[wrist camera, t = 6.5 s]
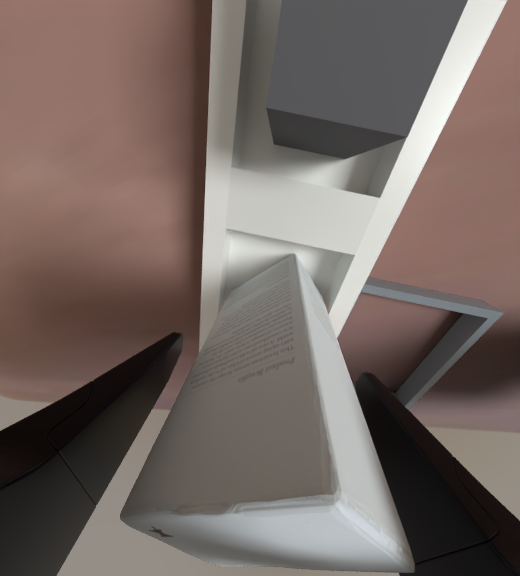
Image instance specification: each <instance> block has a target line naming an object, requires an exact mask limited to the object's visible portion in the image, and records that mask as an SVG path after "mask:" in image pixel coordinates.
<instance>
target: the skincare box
mask: <svg viewBox="0 0 520 576" xmlns="http://www.w3.org/2000/svg"><path fill="white" fill-rule="evenodd" d="M120 519H121V520H122V521H123V522H124V523H125V524H127V525H128V526H130V527H132V528H134V529H136V530H138V531H140V532H143V533H145V534H147V535H149V536H152V537H154V538H156V539H158V540H160V541H162V542H164V543H167V544H168V545H171V546H173V547H175V548H177V549H179V550H181V551H183V552H185V553H188V554H190V555H192V556H194V557H196V558H198V559H201V560H203V561H205V562H208V563H211V564H214V565H217V566H226V567H229V566H230V567H284V568H285V567H286V568H295V569H309V570H310V569H311V570H331V571H360V572H393V573H394V572H395V573H413V572H414V571H415V563H414V560H413V556H412V553H411V549H410V546H409V544H408V541H407V538H406V535H405V532H404V529H403V526H402V524H401V521H400V518H399V515H398V512H397V509H396V507H395V504H394V501H393V498H392V495H391V492H390V489H389V486H388V484H387V481H386V478H385V475H384V472H383V469H382V467H381V464H380V461H379V458H378V455H377V453H376V450H375V447H374V444H373V441H372V438H371V435H370V432H369V429H368V426H367V423H366V420H365V418H364V415H363V412H362V409H361V406H360V404H359V401H358V398H357V395H356V392H355V390H354V387H353V384H352V381H351V378H350V375H349V372H348V370H347V367H346V364H345V361H344V358H343V355H342V352H341V349H340V346H339V343H338V340H337V338H336V335H335V332H334V329H333V326H332V323H331V320H330V318H329V315H328V312H327V309H326V306H325V303H324V300H323V297H322V296H321V294H320V292H319V291H318V289H317V288H316V286H315V284H314V283H313V281H312V279H311V278H310V276H309V274H308V273H307V271H306V269H305V268H304V266H303V265H302V263H301V261H300V260H299V258H298V257H297V255H296V254H292V255H290V256H289V257H287V258H285V259H284V260H282V261H280V262H279V263H277V264H275V265H274V266H272V267H270V268H269V269H267V270H265V271H264V272H262V273H260V274H259V275H257V276H255V277H254V278H252V279H250V280H249V281H247V282H246V283H244V284H242V285H241V286H239V287H237V288H235V289H234V290H232V291H230V292H229V294H228V296H227V298H226V300H225V302H224V304H223V306H222V308H221V310H220V312H219V314H218V316H217V318H216V320H215V322H214V324H213V327H212V329H211V331H210V333H209V335H208V337H207V339H206V341H205V343H204V345H203V347H202V349H201V351H200V353H199V355H198V357H197V359H196V361H195V363H194V365H193V367H192V369H191V371H190V373H189V375H188V377H187V379H186V381H185V383H184V385H183V387H182V389H181V391H180V393H179V395H178V397H177V399H176V401H175V403H174V405H173V407H172V409H171V411H170V414H169V415H168V417H167V419H166V421H165V423H164V425H163V427H162V429H161V431H160V433H159V435H158V437H157V439H156V441H155V443H154V445H153V447H152V449H151V451H150V453H149V455H148V457H147V460H146V462H145V464H144V466H143V468H142V470H141V472H140V474H139V476H138V478H137V480H136V482H135V484H134V486H133V488H132V490H131V492H130V495H129V497H128V499H127V501H126V503H125V505H124V507H123V509H122V511H121V514H120Z"/></svg>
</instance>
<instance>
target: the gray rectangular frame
mask: <svg viewBox="0 0 520 576" xmlns="http://www.w3.org/2000/svg"><path fill="white" fill-rule="evenodd" d="M361 292H364V293H369V294H373V295H378V296H383V297H388V298H393V299H397V300H402V301H407V302H412V303H417V304H422V305H426V306H431V307H436V308H441V309H446V310H451V311H455V312H460V313H463V314H462V316H461V317H460V318H459V319H458V320H457V321H456V323H455V324H454V325H453V326H452V327H451V328H450V330H449V331H448V332H447V333H446V334H445V335H444V337H443V338H442V339H441V340H440V341H439V342H438V344H437V345H436V346H435V347H434V348H433V349H432V351H431V352H430V353H429V354H428V355H427V356H426V358H425V359H424V360H423V361H422V362H421V363H420V365H419V366H418V367H417V368H416V369H415V370H414V372H413V373H412V374H411V375H410V376H409V377H408V379H407V380H406V381H405V382H404V383H403V384H402V386H401V387H400V388H399V389H398V390H397V391H396V393H394V392H391V393H392V394H393V395H394V396H395V397H396V398H397V399H398V400H399V401H400V402H401V403H402V404H403V405H404V406H405V407H406V408H407V409H408V410H409V409H410V408H411V407H412V406H413V405H414V404H415V403H416V402H417V401H418V400H419V399H420V398H421V397H422V396H423V395H424V394H425V393H426V392H427V391H428V390H429V389H430V388H431V387H432V386H433V385H434V384H435V383H436V382H437V381H438V380H439V379H440V378H441V377H442V376H443V375H444V374H445V373H446V372H447V371H448V370H449V369H450V368H451V366H452V365H453V364H454V363H455V362H456V361H457V360H458V359H459V358H460V357H461V356H462V355H463V354H464V353H465V352H466V351H467V350H468V349H469V348H470V347H471V346H472V345H473V344H474V343H475V342H476V341H477V340H478V339H479V338H480V337H481V336H482V335H483V334H484V333H485V332H486V331H487V330H488V329H489V328H490V327H491V326H492V325H493V324H494V323H495V322H496V321H497V320H498V319H499V318H500V317H501V316H502V315H503V314H504V313H503V312H501V311H500V310H498V309H496V308H494V307H493V306H491V305H489V304H488V303H486V302H484V301H481V300H476V299H471V298H466V297H462V296H457V295H452V294H447V293H442V292H438V291H433V290H428V289H423V288H418V287H413V286H409V285H404V284H399V283H394V282H389V281H384V280H380V279H375V278H370V277H368V278H367V280H366V282H365V284H364V286H363V288H362V290H361ZM361 292H360V293H361ZM359 295H360V294H359ZM358 297H359V296H358ZM357 299H358V298H357ZM356 301H357V300H356ZM355 303H356V302H355ZM354 305H355V304H354ZM353 307H354V306H353ZM352 309H353V308H352ZM351 311H352V310H351ZM350 313H351V312H350ZM349 315H350V314H349ZM348 317H349V316H348ZM348 317H347V319H348ZM347 319H346V321H347ZM346 321H345V323H346ZM345 323H344V325H345ZM344 325H343V327H344ZM343 327H342V329H343ZM342 329H341V331H342ZM341 331H340V333H341ZM340 333H339V335H340ZM339 335H338V337H339ZM338 337H337V339H338ZM353 387H354V390H355V392H356V389H355V384H353Z"/></svg>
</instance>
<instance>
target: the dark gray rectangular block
mask: <svg viewBox="0 0 520 576" xmlns="http://www.w3.org/2000/svg"><path fill="white" fill-rule="evenodd" d="M467 1H468V0H282V4H281V11H280V17H279V24H278V31H277V38H276V44H275V51H274V58H273V65H272V71H271V78H270V85H269V92H268V98H267V105H266V109H267V114H268V119H269V124H270V128H271V133H272V138H273V143H274V144H275V145H280V146H284V147H289V148H294V149H299V150H304V151H309V152H313V153H318V154H323V155H328V156H333V157H337V158H342V159H348V158H350V157H353V156H356V155H359V154H362V153H364V152H367V151H370V150H373V149H376V148H378V147H381V146H384V145H387V144H390V143H392V142H395V141H398V140H401V139H404V138H406V137H408V135H409V133H410V131H411V128H412V126H413V124H414V122H415V119H416V117H417V115H418V112H419V110H420V108H421V106H422V103H423V101H424V99H425V97H426V94H427V92H428V90H429V88H430V85H431V83H432V81H433V79H434V76H435V74H436V72H437V69H438V67H439V65H440V63H441V60H442V58H443V56H444V54H445V51H446V49H447V47H448V45H449V42H450V40H451V38H452V35H453V33H454V31H455V29H456V26H457V24H458V22H459V20H460V17H461V15H462V13H463V11H464V8H465V6H466V4H467Z"/></svg>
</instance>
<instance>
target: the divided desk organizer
mask: <svg viewBox="0 0 520 576" xmlns="http://www.w3.org/2000/svg"><path fill="white" fill-rule="evenodd" d="M506 1H507V0H468V1H467V4H466V6H465V8H464V11H463V13H462V15H461V17H460V20H459V22H458V24H457V26H456V29H455V31H454V33H453V35H452V38H451V40H450V42H449V45H448V47H447V49H446V51H445V54H444V56H443V58H442V60H441V63H440V65H439V67H438V69H437V72H436V74H435V76H434V79H433V81H432V83H431V85H430V88H429V90H428V92H427V94H426V97H425V99H424V101H423V103H422V106H421V108H420V110H419V112H418V115H417V117H416V119H415V122H414V124H413V126H412V128H411V131H410V133H409V135H408V137H406V138H404V139H401V140H398V141H395V142H392V143H390V144H387V145H384V146H381V147H378V148H376V149H373V150H370V151H367V152H364V153H362V154H359V155H356V156H353V157H350V158H348V159H342V158H337V157H333V156H328V155H323V154H318V153H313V152H309V151H304V150H299V149H294V148H289V147H284V146H280V145H275V144H274V143H273V138H272V133H271V128H270V124H269V119H268V114H267V109H266V105H267V98H268V92H269V85H270V78H271V71H272V65H273V58H274V51H275V44H276V38H277V31H278V24H279V17H280V11H281V4H282V0H213V1H212V27H211V53H210V79H209V105H208V131H207V157H206V182H205V208H204V234H203V260H202V286H201V312H200V338H199V353H200V351H201V349H202V347H203V345H204V343H205V341H206V339H207V337H208V335H209V333H210V331H211V329H212V327H213V324H214V322H215V320H216V318H217V316H218V314H219V312H220V310H221V308H222V306H223V304H224V302H225V300H226V298H227V296H228V294H229V292H230V291H232V290H234V289H235V288H237V287H239V286H241V285H242V284H244V283H246V282H247V281H249V280H250V279H252V278H254V277H255V276H257V275H259V274H260V273H262V272H264V271H265V270H267V269H269V268H270V267H272V266H274V265H275V264H277V263H279V262H280V261H282V260H284V259H285V258H287V257H289V256H290V255H292V254H296V255H297V257H298V258H299V260H300V261H301V263H302V265H303V266H304V268H305V269H306V271H307V273H308V274H309V276H310V278H311V279H312V281H313V283H314V284H315V286H316V288H317V289H318V291H319V292H320V294H321V296H322V297H323V300H324V303H325V306H326V309H327V312H328V315H329V318H330V320H331V323H332V326H333V329H334V332H335V335H336V338H337V337H338V335H339V333H340V331H341V329H342V327H343V325H344V323H345V321H346V319H347V317H348V316H349V314H350V312H351V310H352V308H353V306H354V304H355V302H356V300H357V298H358V296H359V294H360V292H361V290H362V288H363V286H364V284H365V282H366V280H367V278H368V276H369V274H370V272H371V270H372V268H373V266H374V264H375V262H376V260H377V258H378V256H379V254H380V252H381V250H382V248H383V246H384V244H385V242H386V240H387V238H388V236H389V234H390V232H391V230H392V228H393V226H394V224H395V222H396V220H397V218H398V216H399V214H400V212H401V210H402V208H403V206H404V204H405V202H406V200H407V198H408V196H409V194H410V192H411V190H412V188H413V186H414V184H415V182H416V180H417V178H418V176H419V174H420V172H421V170H422V168H423V166H424V164H425V162H426V160H427V158H428V156H429V154H430V153H431V151H432V149H433V147H434V145H435V143H436V141H437V139H438V137H439V135H440V133H441V131H442V129H443V127H444V125H445V123H446V121H447V119H448V117H449V115H450V113H451V111H452V109H453V107H454V105H455V103H456V101H457V99H458V97H459V95H460V93H461V91H462V89H463V87H464V85H465V83H466V81H467V79H468V77H469V75H470V73H471V71H472V69H473V67H474V65H475V63H476V61H477V59H478V57H479V55H480V53H481V51H482V49H483V47H484V45H485V43H486V41H487V39H488V37H489V35H490V33H491V31H492V29H493V27H494V25H495V23H496V21H497V19H498V17H499V15H500V13H501V11H502V9H503V7H504V5H505V3H506Z"/></svg>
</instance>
